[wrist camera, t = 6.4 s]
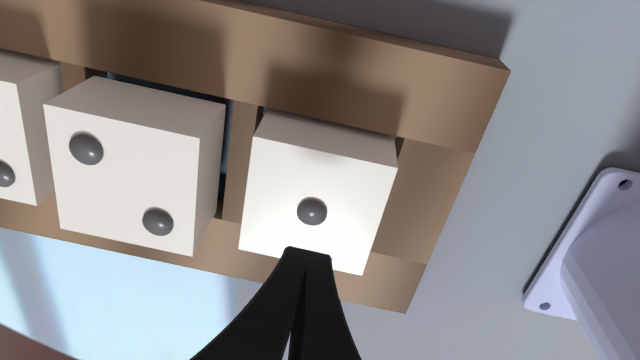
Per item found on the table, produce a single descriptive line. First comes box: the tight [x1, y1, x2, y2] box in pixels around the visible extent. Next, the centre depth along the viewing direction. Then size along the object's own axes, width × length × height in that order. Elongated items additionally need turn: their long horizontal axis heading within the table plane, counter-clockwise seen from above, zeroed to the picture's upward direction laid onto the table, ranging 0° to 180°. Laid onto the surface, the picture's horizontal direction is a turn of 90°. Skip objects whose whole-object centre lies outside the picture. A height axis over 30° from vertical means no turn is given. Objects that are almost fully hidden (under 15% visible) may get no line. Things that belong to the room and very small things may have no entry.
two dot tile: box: [43, 76, 226, 257], centre depth 16 cm, size 5×5×3 cm
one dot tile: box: [238, 108, 398, 276], centre depth 17 cm, size 5×5×3 cm
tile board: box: [0, 0, 511, 314], centre depth 18 cm, size 24×12×2 cm, turn 79°
